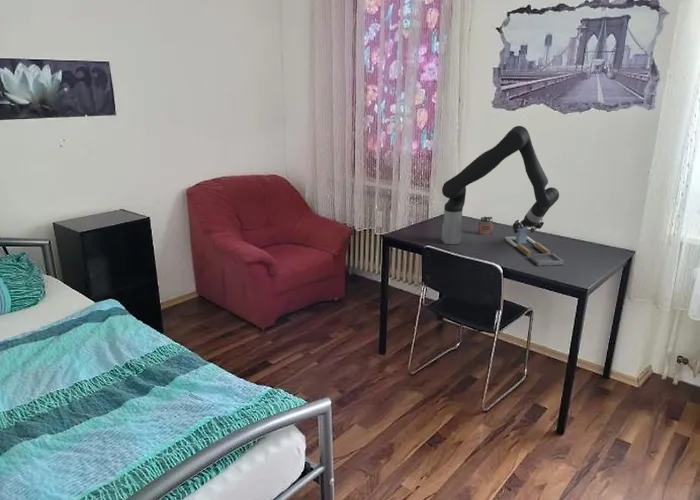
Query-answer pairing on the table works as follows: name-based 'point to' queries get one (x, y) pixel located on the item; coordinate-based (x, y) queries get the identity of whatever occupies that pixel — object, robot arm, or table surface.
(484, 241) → the table surface
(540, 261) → the tray
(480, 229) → the lighter
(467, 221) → the table surface
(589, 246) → the table surface
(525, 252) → the rail channel
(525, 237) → the block
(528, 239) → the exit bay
